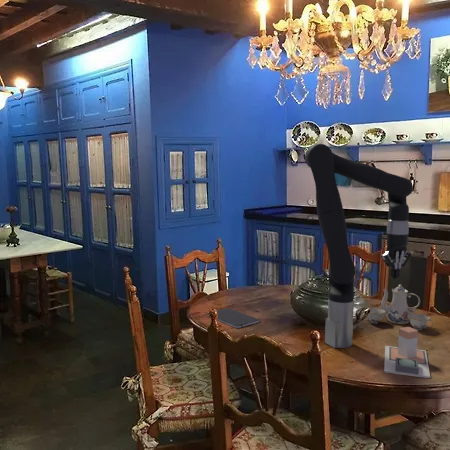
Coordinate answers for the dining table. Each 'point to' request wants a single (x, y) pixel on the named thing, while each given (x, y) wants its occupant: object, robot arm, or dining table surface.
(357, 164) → the robot arm
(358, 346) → the dining table surface
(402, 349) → the white and pink block
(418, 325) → the chinaware
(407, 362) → the button
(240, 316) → the notebook
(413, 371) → the picture board
